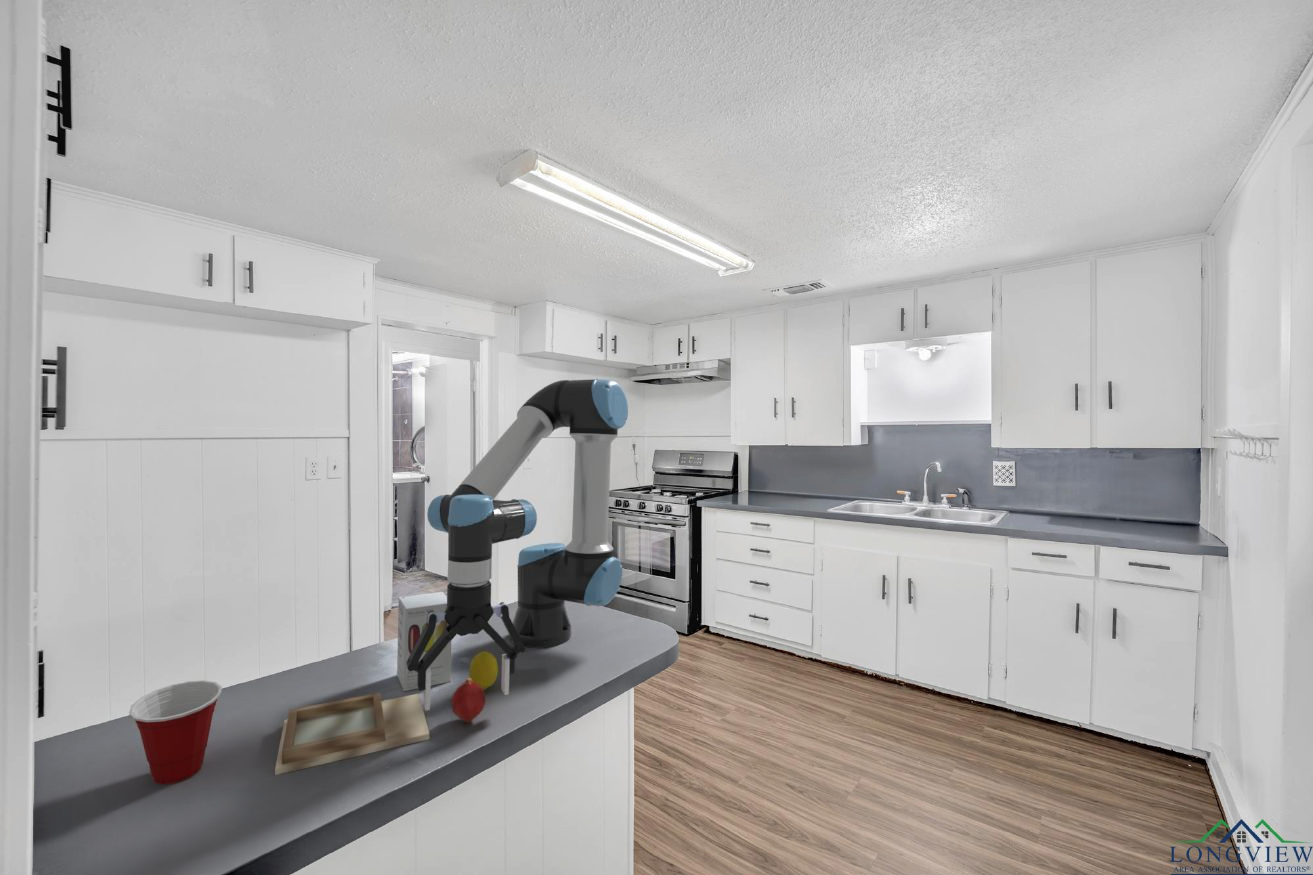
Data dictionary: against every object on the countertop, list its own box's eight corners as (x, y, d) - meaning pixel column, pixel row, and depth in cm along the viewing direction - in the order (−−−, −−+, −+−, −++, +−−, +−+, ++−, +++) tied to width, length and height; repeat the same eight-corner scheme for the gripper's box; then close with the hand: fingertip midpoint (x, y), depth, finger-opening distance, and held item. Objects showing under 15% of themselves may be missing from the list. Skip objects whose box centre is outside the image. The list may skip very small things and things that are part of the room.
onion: (450, 716, 105) (450, 673, 105) (483, 710, 108) (483, 668, 108) (452, 732, 100) (453, 687, 100) (486, 726, 102) (487, 681, 102)
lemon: (464, 690, 116) (464, 651, 116) (488, 681, 120) (489, 643, 120) (478, 699, 112) (478, 659, 112) (503, 690, 116) (503, 651, 116)
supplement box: (402, 692, 114) (403, 608, 114) (395, 675, 122) (396, 596, 122) (452, 681, 120) (453, 601, 119) (442, 665, 127) (443, 590, 127)
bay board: (418, 698, 112) (418, 683, 112) (429, 739, 98) (429, 721, 98) (284, 725, 101) (284, 708, 101) (275, 775, 87) (275, 755, 87)
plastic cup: (115, 804, 80) (114, 720, 80) (147, 762, 90) (146, 686, 90) (210, 786, 85) (210, 706, 84) (230, 747, 94) (230, 675, 94)
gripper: (531, 570, 112) (529, 678, 113) (391, 583, 101) (389, 704, 101) (543, 579, 106) (540, 693, 106) (395, 595, 94) (392, 723, 94)
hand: (467, 699), depth 103 cm, fingers open, 13 cm apart
